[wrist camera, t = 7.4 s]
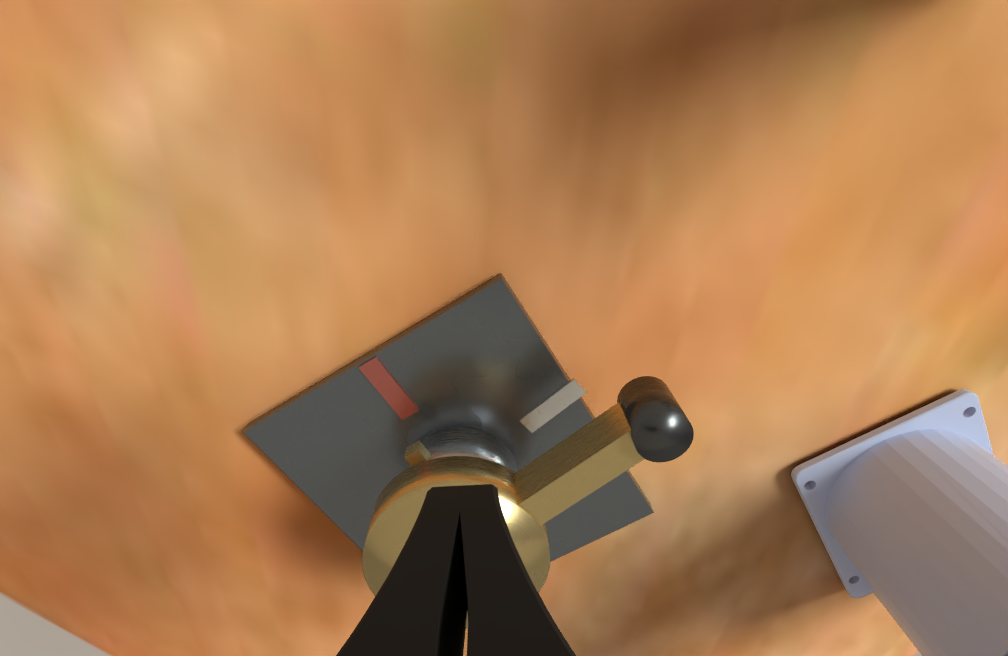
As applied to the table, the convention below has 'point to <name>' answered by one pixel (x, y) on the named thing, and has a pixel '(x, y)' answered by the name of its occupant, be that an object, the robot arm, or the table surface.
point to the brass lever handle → (536, 478)
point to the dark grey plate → (442, 416)
